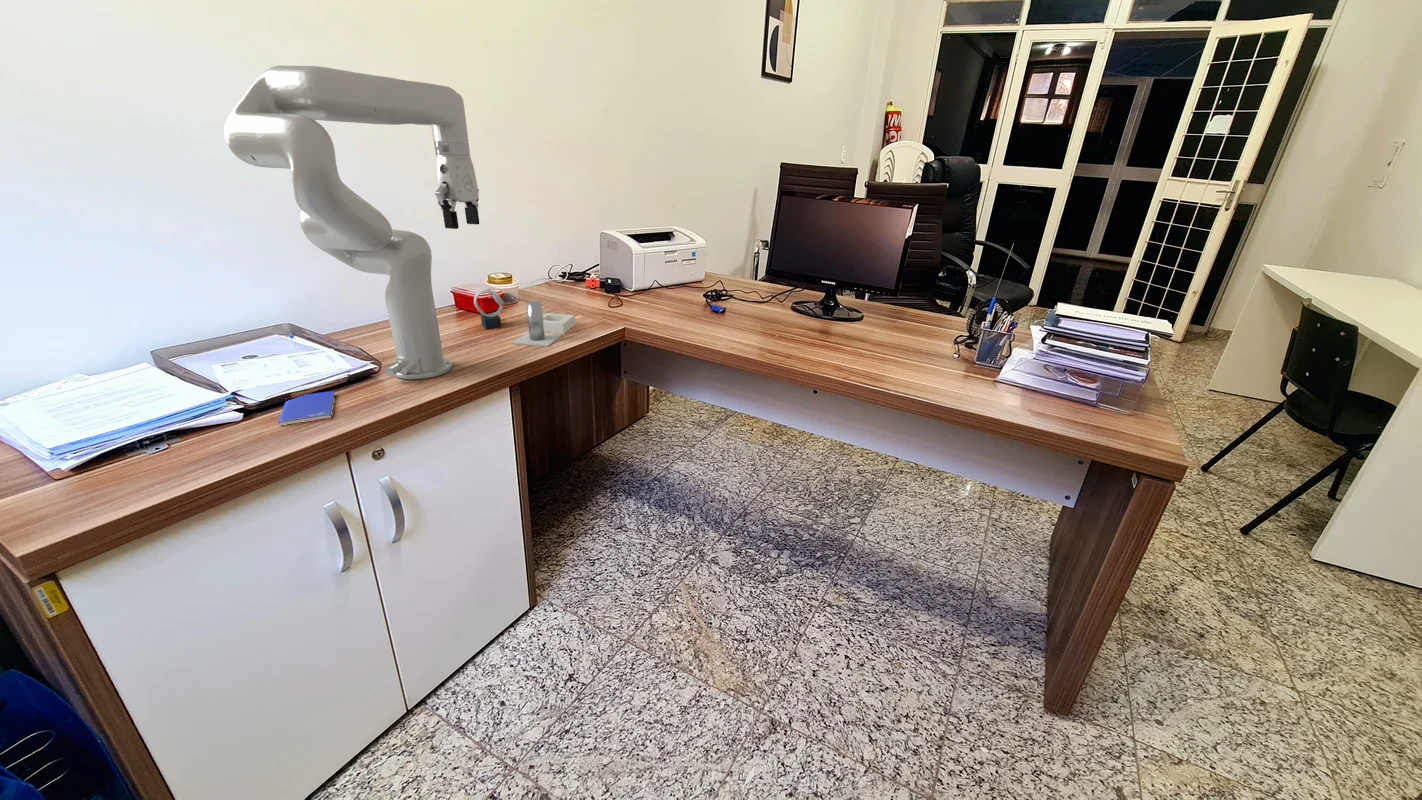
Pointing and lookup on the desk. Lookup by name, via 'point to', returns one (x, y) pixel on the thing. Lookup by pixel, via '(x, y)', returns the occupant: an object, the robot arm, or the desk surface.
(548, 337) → the mat
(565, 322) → the grey square socket block
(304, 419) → the blue book
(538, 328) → the peg
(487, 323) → the grey ring on block
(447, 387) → the desk surface
